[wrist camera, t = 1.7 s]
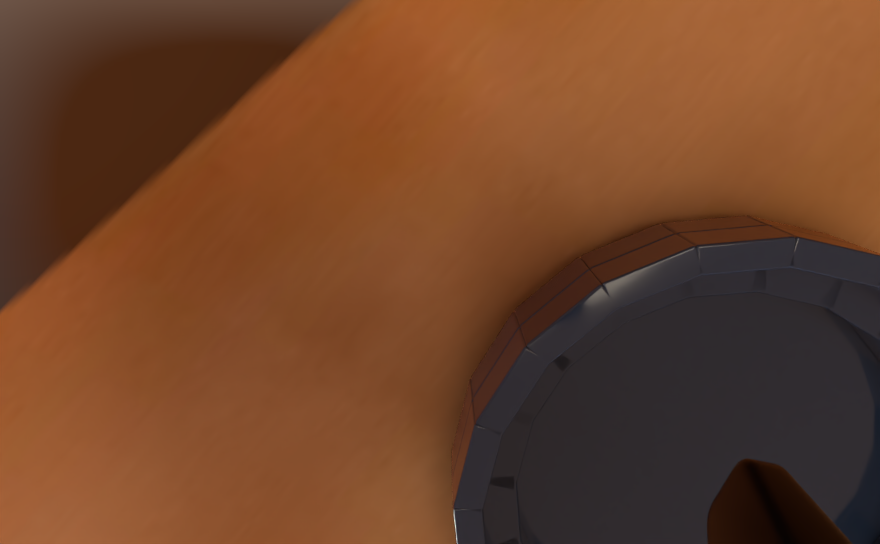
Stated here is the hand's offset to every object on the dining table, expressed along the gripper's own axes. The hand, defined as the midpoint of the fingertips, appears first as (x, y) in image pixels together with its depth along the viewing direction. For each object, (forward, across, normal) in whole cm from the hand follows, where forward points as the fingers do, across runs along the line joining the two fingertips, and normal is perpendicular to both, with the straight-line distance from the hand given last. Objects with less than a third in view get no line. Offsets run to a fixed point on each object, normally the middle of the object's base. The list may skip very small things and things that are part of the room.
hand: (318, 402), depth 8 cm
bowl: (+12, -11, +12) cm, 20 cm away
